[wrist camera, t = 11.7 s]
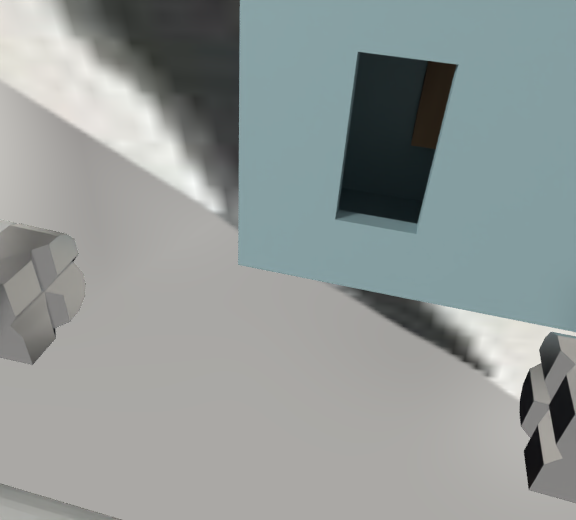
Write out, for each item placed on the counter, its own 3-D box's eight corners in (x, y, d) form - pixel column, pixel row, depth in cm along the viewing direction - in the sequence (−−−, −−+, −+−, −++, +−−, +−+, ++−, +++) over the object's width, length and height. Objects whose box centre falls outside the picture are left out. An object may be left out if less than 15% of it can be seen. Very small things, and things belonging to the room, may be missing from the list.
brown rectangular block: (430, 45, 29) (516, 56, 28) (412, 132, 32) (489, 143, 31) (430, 55, 27) (520, 66, 26) (410, 145, 30) (491, 157, 29)
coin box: (717, -51, 24) (847, -20, 16) (581, 235, 34) (623, 341, 26) (299, -88, 27) (240, -77, 20) (282, 183, 37) (238, 264, 29)
